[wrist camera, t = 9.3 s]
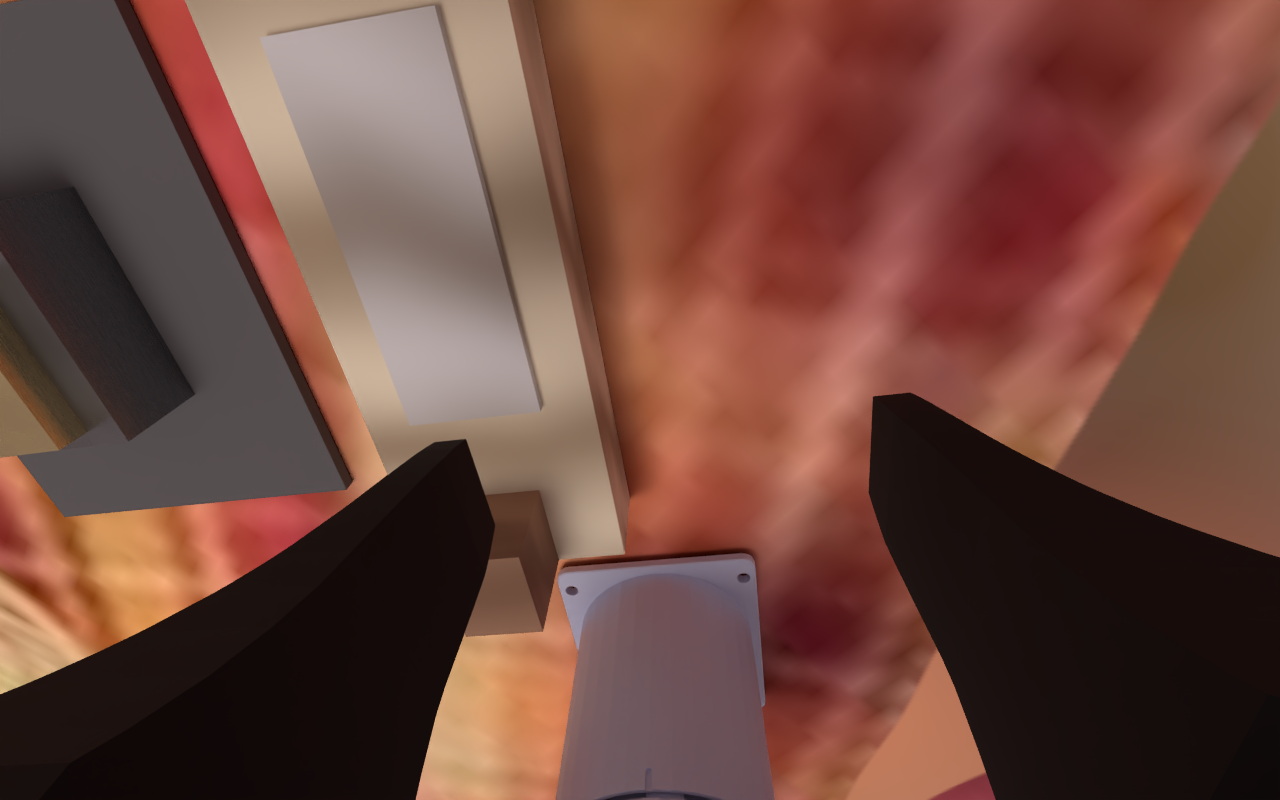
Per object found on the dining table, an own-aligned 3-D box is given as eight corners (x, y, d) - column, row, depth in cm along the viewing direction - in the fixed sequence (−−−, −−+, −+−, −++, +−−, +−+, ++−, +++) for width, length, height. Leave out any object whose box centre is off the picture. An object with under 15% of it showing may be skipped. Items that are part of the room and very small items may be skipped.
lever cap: (195, 394, 21) (101, 460, 18) (81, 408, 22) (-33, 476, 18) (74, 186, 18) (-72, 217, 14) (-58, 209, 18) (-230, 245, 15)
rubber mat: (352, 481, 23) (346, 489, 23) (75, 508, 25) (64, 516, 24) (121, -15, 16) (106, -17, 15) (-265, 62, 17) (-289, 62, 16)
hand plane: (629, 498, 23) (618, 626, 18) (454, 514, 24) (394, 641, 19) (463, -357, 12) (315, -657, 7) (156, -280, 13) (-179, -501, 8)
